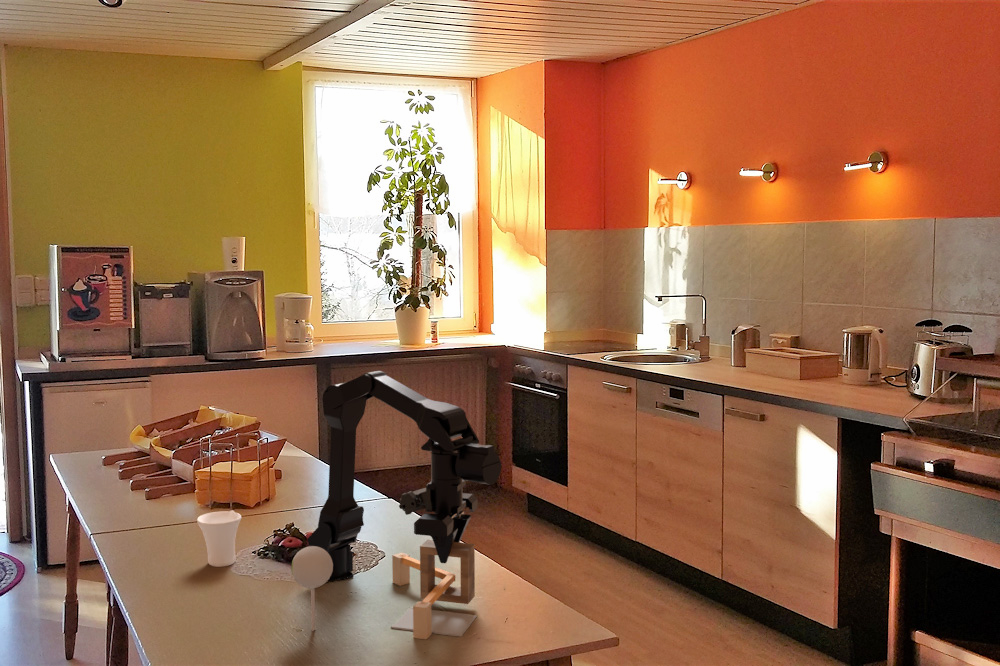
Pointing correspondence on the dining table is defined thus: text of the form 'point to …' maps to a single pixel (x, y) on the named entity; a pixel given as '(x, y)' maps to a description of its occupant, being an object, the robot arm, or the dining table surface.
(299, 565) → the lollipop
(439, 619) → the mat
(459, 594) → the brown rectangular frame
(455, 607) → the dining table surface
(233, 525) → the cup
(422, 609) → the rail
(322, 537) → the robot arm
